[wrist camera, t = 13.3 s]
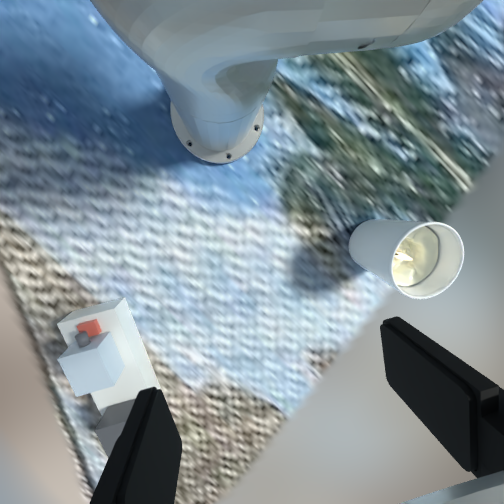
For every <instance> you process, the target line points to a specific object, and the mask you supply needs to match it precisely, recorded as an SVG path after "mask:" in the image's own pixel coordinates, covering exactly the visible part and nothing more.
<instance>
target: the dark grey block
mask: <svg viewBox="0 0 504 504" xmlns="http://www.w3.org/2000/svg"><path fill="white" fill-rule="evenodd" d="M134 402H135V399H133V400H129V401H126V402H122V403H119V404H115V405H112V406H108V407H107V408H106V410H105V412H104V414H103V416H102V418H101V420H100V422H99V423H98V425H97V427H96V429H95V432H96V434H97V436H98V438H99V440H100V442H101V444H102V446H103V448H104V450H105V452H106V454H107V456H108V458H109V456H110V454H111V452H112V449H113V447H114V445H115V442H116V440H117V439H118V437H119V436H120V435H121V433H122V430H123V428H124V426H125V423H126V421H127V418H128V416H129V414H130V411H131V409H132V406H133V404H134Z"/></svg>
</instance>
